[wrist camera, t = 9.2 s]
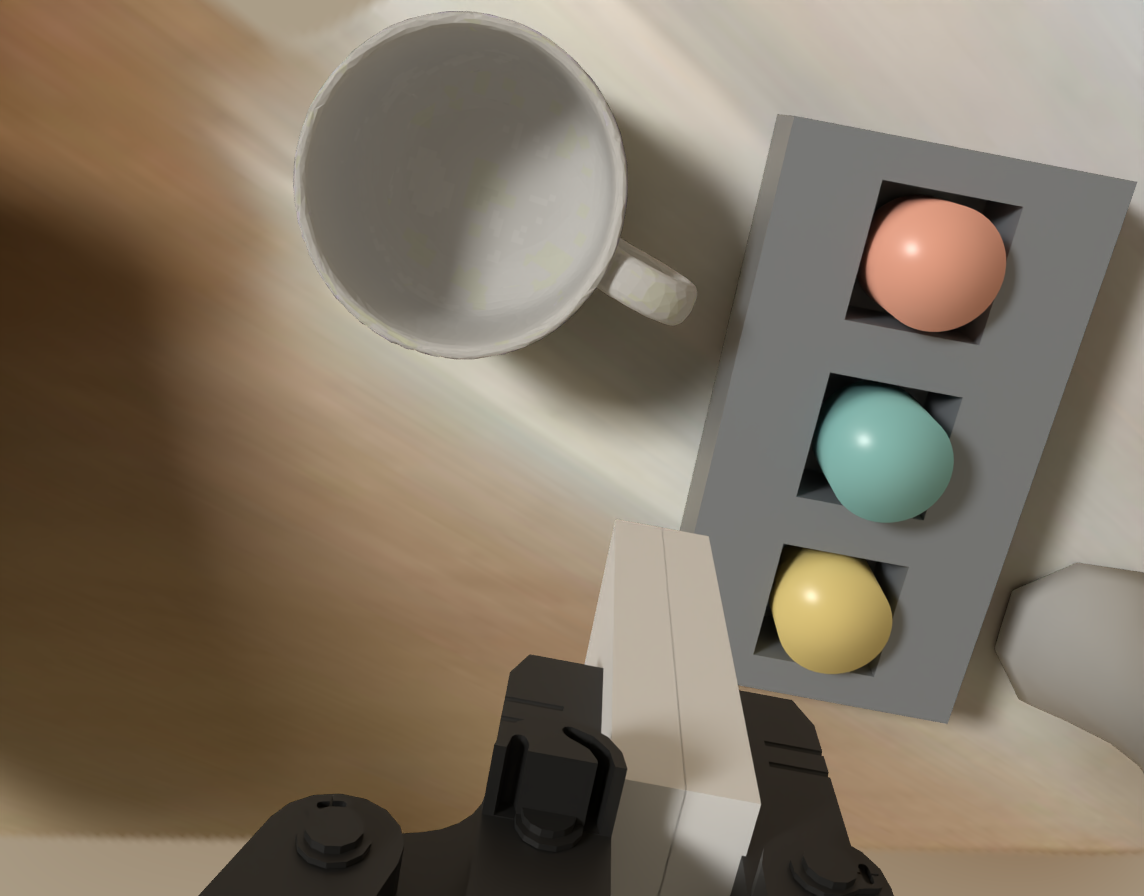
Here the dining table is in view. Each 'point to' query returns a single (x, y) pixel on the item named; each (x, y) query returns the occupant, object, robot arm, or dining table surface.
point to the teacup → (470, 190)
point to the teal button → (881, 451)
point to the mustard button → (828, 610)
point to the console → (904, 358)
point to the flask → (1081, 651)
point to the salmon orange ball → (931, 262)
